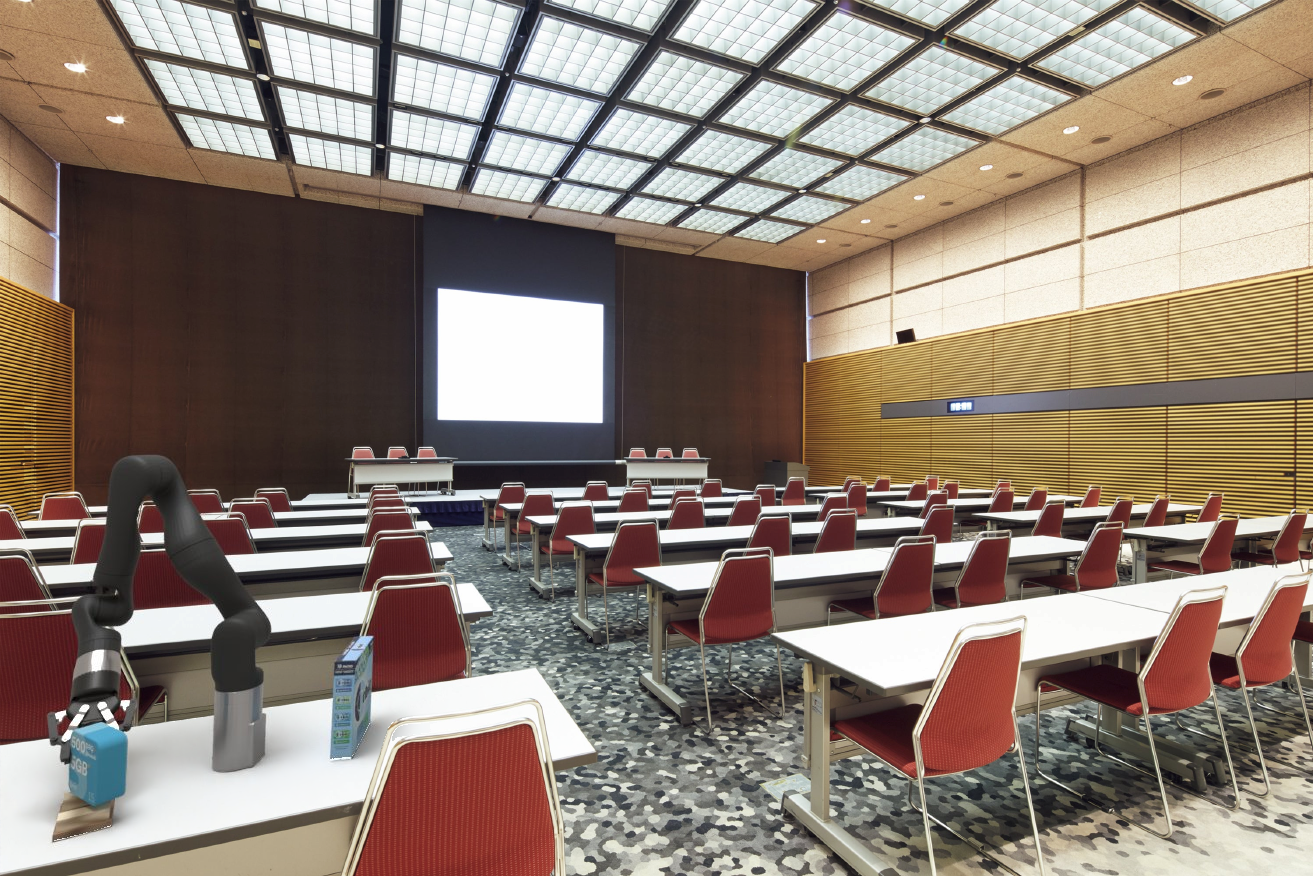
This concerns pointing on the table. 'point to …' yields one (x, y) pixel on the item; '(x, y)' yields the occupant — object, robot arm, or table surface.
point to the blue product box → (351, 696)
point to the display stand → (81, 817)
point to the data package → (98, 763)
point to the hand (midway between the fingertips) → (89, 757)
